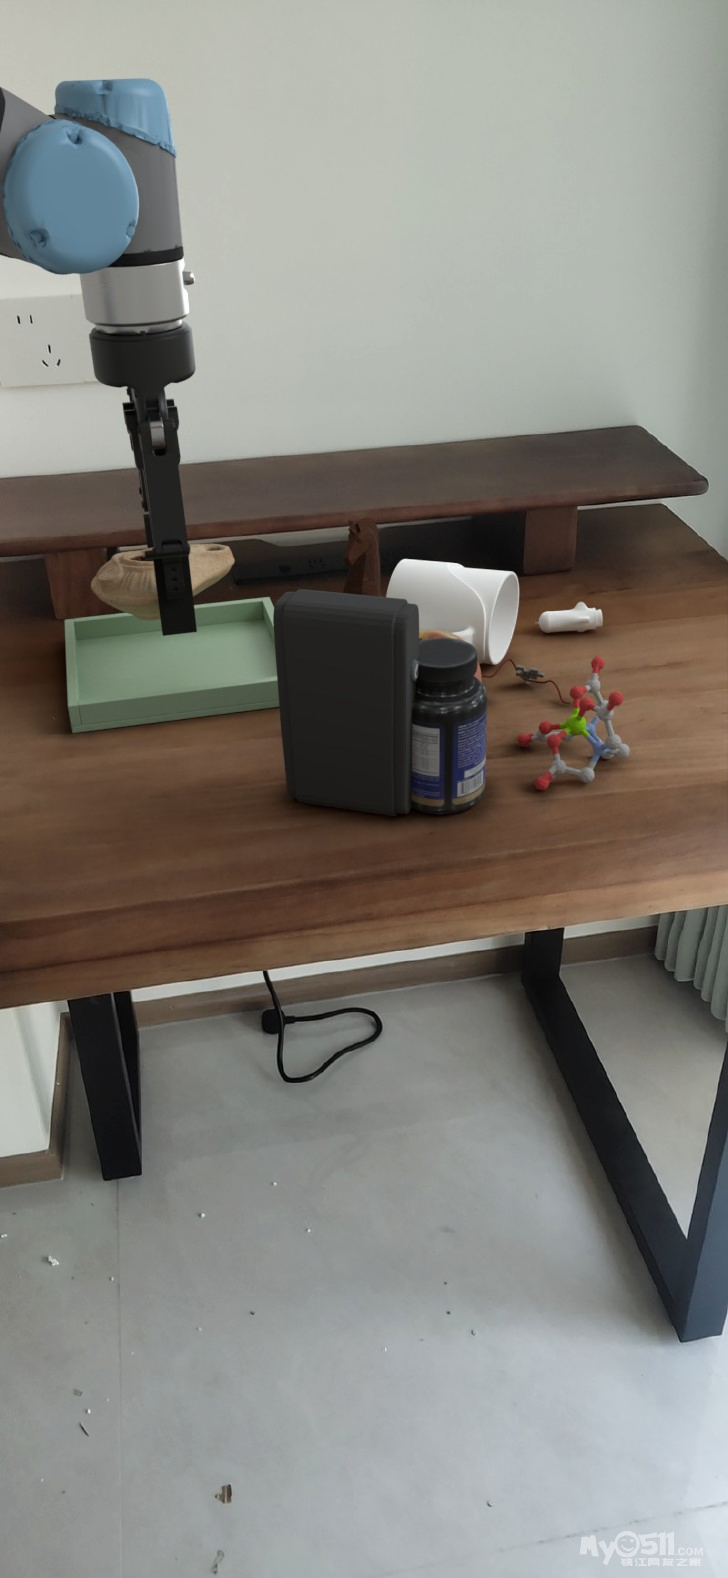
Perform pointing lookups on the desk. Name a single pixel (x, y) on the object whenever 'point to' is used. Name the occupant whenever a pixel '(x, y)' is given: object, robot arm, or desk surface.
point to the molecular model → (581, 730)
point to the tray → (170, 666)
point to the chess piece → (363, 558)
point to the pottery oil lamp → (134, 581)
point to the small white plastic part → (571, 619)
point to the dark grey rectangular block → (347, 698)
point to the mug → (461, 602)
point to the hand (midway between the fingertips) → (173, 608)
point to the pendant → (528, 675)
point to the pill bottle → (448, 728)
